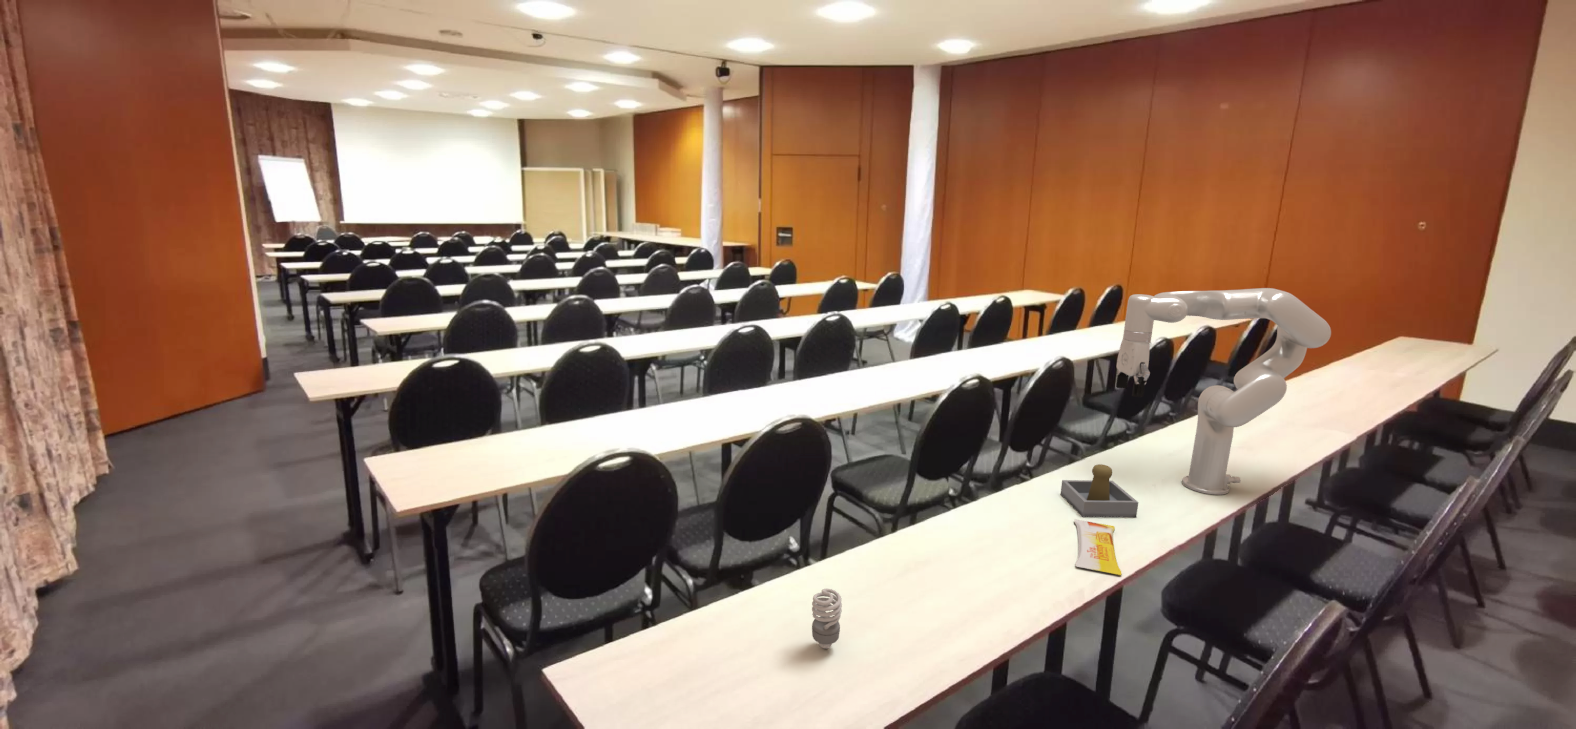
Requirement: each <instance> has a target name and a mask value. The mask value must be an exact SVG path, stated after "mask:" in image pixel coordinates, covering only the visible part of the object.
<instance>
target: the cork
mask: <svg viewBox="0 0 1576 729" xmlns="http://www.w3.org/2000/svg"><path fill="white" fill-rule="evenodd" d="M1092 475H1093V477H1092V479H1091V480H1092V483H1091V487H1090V490H1089V494H1088V497H1087V500H1096V501H1110V491H1109V481H1110V479H1111V478H1112V476H1113V469H1112V467H1110V466H1109V465H1106V464H1102V463H1099V464H1098V463H1097V464H1094V466H1093V467H1092Z"/></svg>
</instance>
